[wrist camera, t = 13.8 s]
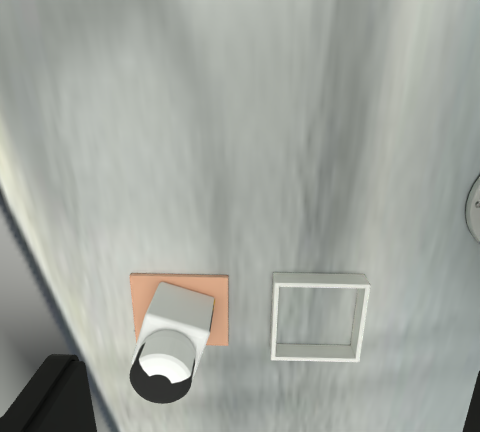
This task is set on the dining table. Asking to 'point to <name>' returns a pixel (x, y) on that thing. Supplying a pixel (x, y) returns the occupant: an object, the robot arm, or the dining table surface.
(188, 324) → the medicine bottle
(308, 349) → the parts bin
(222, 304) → the coaster
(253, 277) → the dining table surface
